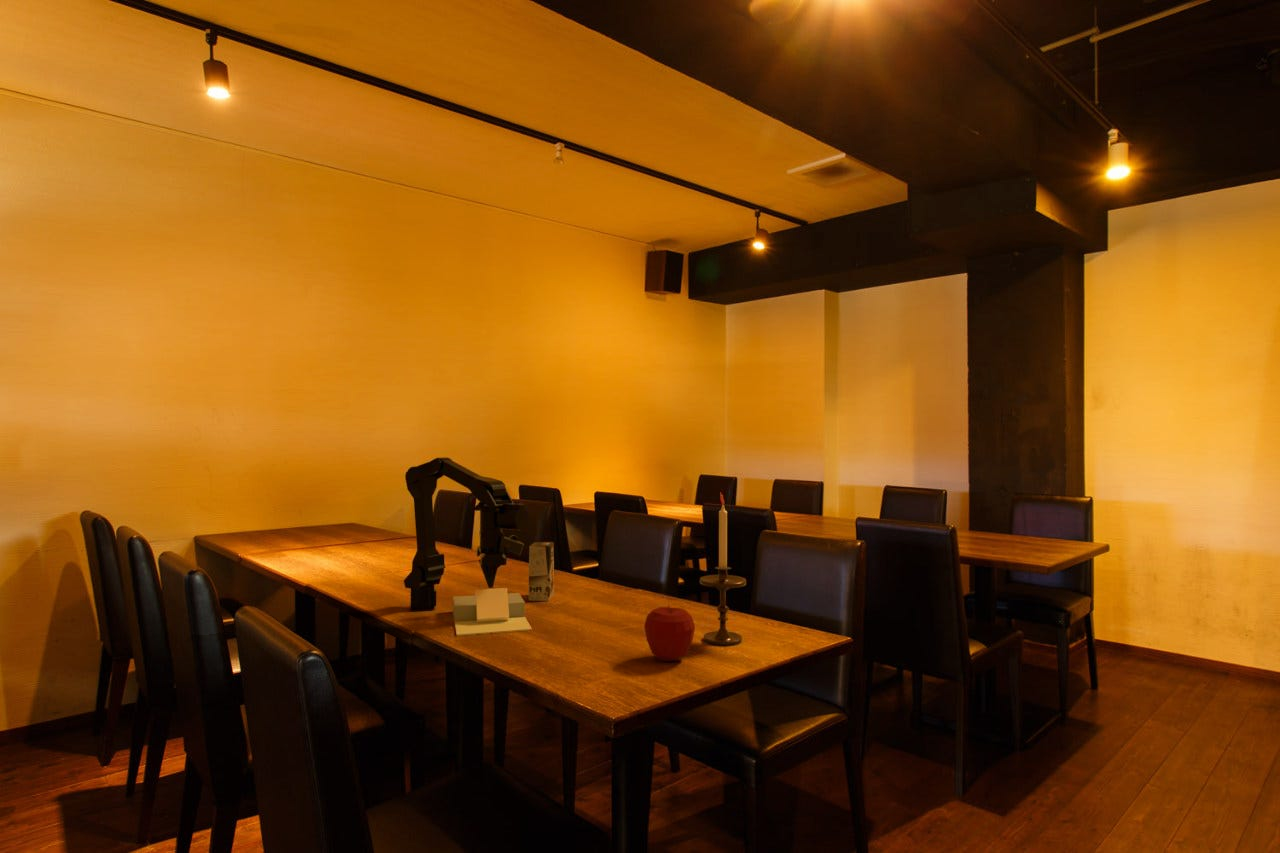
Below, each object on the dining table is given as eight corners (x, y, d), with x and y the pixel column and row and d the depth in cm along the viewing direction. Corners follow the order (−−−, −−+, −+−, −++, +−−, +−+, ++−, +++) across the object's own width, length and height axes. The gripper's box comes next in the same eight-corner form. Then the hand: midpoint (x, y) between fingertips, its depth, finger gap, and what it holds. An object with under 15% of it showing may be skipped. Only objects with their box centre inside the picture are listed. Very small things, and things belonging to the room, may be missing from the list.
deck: (454, 622, 178) (454, 606, 178) (452, 611, 190) (452, 596, 190) (524, 617, 183) (524, 602, 184) (518, 607, 195) (518, 592, 195)
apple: (656, 670, 142) (656, 613, 142) (636, 655, 152) (636, 601, 152) (703, 663, 146) (703, 608, 146) (680, 649, 156) (681, 597, 156)
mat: (456, 636, 166) (456, 634, 166) (454, 623, 177) (454, 621, 177) (531, 630, 171) (531, 628, 171) (525, 618, 183) (525, 616, 183)
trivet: (476, 622, 176) (477, 618, 174) (475, 593, 181) (476, 589, 179) (508, 620, 179) (509, 616, 177) (506, 592, 183) (507, 587, 182)
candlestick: (709, 648, 157) (710, 494, 158) (693, 635, 167) (693, 490, 168) (753, 645, 160) (753, 493, 160) (734, 632, 170) (735, 490, 171)
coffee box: (549, 601, 202) (550, 546, 203) (527, 601, 202) (528, 545, 203) (554, 594, 211) (554, 541, 212) (533, 594, 211) (533, 541, 212)
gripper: (526, 531, 176) (526, 593, 175) (517, 523, 194) (517, 579, 193) (481, 533, 172) (481, 596, 172) (476, 524, 190) (476, 581, 190)
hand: (490, 587), depth 182 cm, fingers closed
